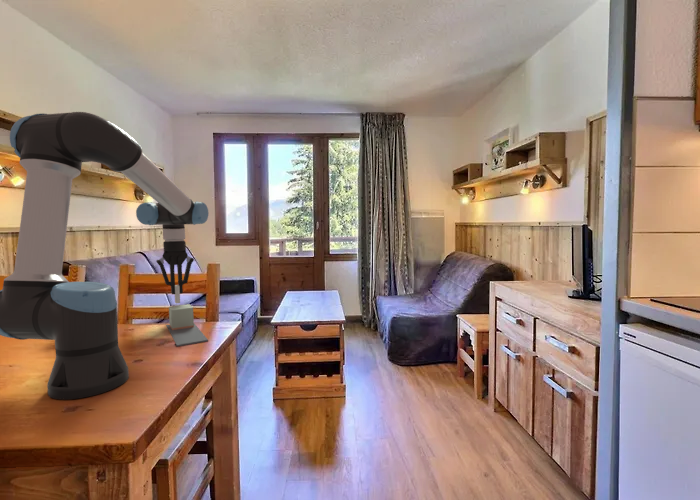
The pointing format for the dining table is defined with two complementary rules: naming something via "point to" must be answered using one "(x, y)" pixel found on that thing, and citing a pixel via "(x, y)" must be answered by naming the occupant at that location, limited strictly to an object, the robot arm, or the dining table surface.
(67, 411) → the dining table surface
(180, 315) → the block
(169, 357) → the dining table surface
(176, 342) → the mat
